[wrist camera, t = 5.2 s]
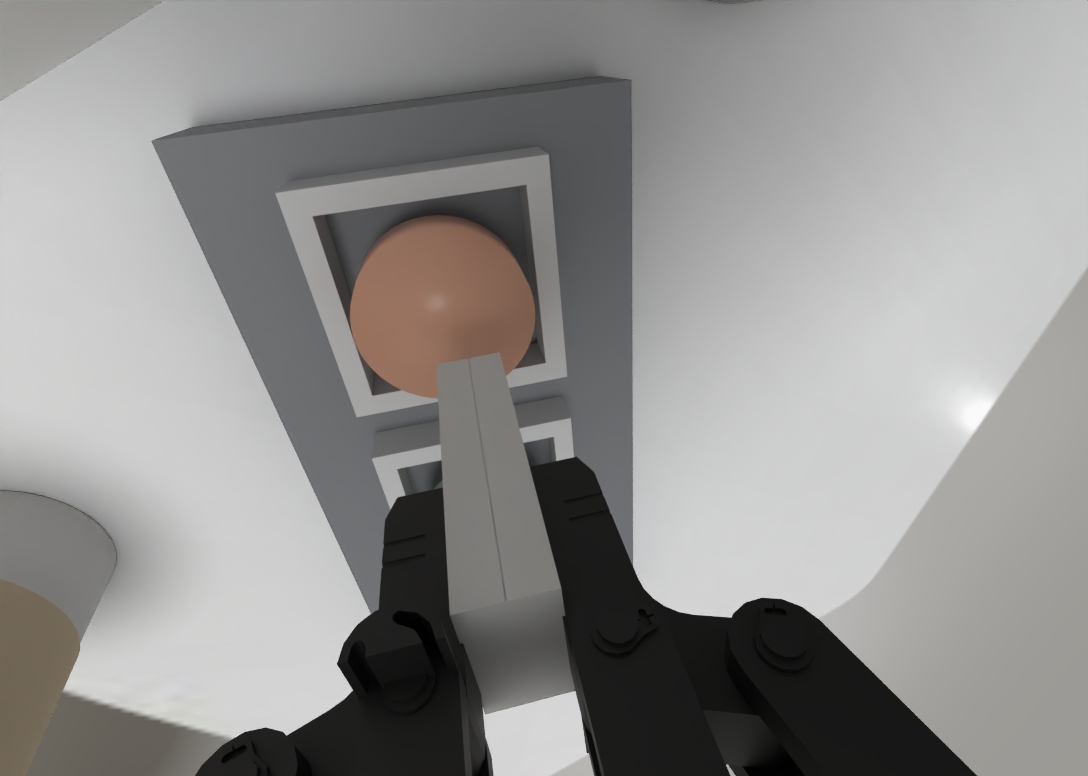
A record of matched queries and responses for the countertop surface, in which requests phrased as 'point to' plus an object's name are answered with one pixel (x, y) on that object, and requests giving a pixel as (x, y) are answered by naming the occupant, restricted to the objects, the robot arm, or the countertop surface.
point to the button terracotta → (439, 301)
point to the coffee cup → (43, 612)
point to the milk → (54, 33)
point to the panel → (386, 201)
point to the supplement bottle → (733, 1)
